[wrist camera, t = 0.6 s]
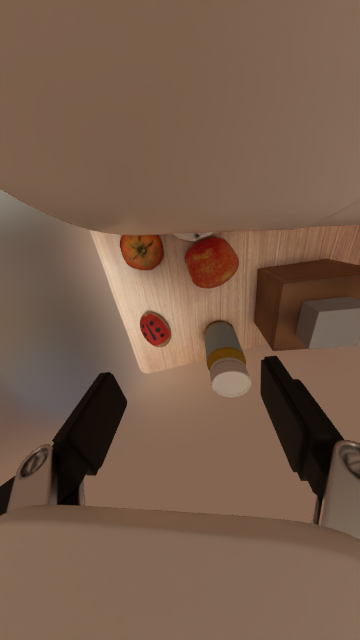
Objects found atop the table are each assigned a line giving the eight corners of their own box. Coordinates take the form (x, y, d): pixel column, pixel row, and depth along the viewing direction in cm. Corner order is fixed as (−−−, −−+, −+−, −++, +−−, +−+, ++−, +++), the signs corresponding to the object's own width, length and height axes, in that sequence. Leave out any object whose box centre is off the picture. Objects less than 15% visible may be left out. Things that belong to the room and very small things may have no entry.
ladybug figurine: (155, 346, 42) (151, 355, 39) (134, 316, 38) (128, 323, 35) (177, 338, 40) (175, 347, 37) (157, 305, 36) (154, 312, 33)
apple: (182, 245, 30) (178, 250, 23) (227, 229, 28) (238, 228, 21) (194, 285, 33) (194, 299, 26) (235, 273, 31) (246, 285, 24)
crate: (258, 268, 30) (283, 283, 22) (328, 258, 29) (385, 270, 20) (254, 322, 36) (272, 351, 27) (312, 316, 34) (352, 346, 26)
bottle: (239, 326, 37) (263, 378, 24) (224, 347, 40) (238, 403, 27) (212, 315, 36) (222, 363, 23) (199, 338, 40) (201, 391, 27)
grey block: (302, 301, 23) (319, 312, 20) (350, 296, 22) (375, 306, 19) (295, 335, 26) (308, 349, 23) (337, 332, 25) (356, 346, 22)
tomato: (152, 282, 32) (122, 268, 26) (136, 264, 35) (106, 248, 29) (176, 248, 30) (150, 224, 23) (157, 232, 33) (129, 207, 26)
